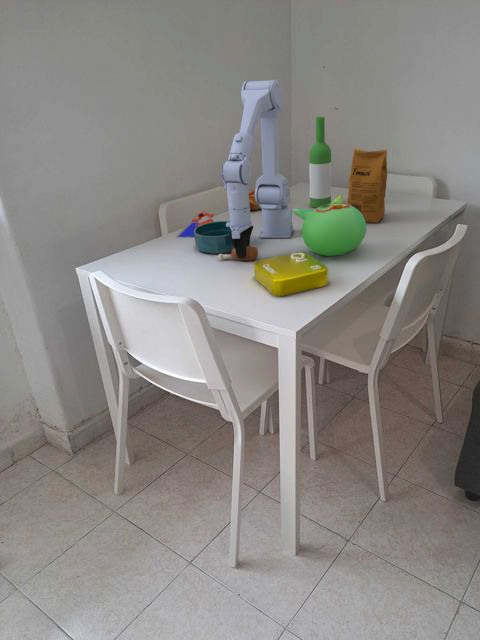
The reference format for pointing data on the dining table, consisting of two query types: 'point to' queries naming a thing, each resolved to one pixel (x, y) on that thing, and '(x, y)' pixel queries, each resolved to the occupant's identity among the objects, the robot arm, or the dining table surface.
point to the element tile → (290, 273)
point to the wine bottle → (320, 168)
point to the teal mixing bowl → (213, 237)
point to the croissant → (253, 201)
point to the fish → (197, 224)
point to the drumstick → (250, 255)
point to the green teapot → (332, 228)
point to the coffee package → (368, 184)
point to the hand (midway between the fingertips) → (243, 254)
